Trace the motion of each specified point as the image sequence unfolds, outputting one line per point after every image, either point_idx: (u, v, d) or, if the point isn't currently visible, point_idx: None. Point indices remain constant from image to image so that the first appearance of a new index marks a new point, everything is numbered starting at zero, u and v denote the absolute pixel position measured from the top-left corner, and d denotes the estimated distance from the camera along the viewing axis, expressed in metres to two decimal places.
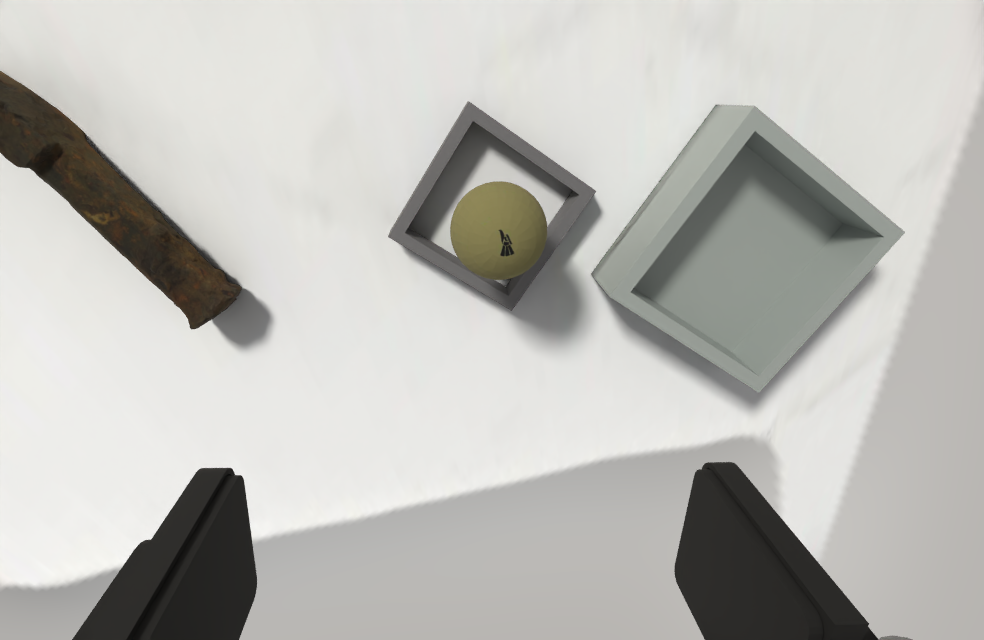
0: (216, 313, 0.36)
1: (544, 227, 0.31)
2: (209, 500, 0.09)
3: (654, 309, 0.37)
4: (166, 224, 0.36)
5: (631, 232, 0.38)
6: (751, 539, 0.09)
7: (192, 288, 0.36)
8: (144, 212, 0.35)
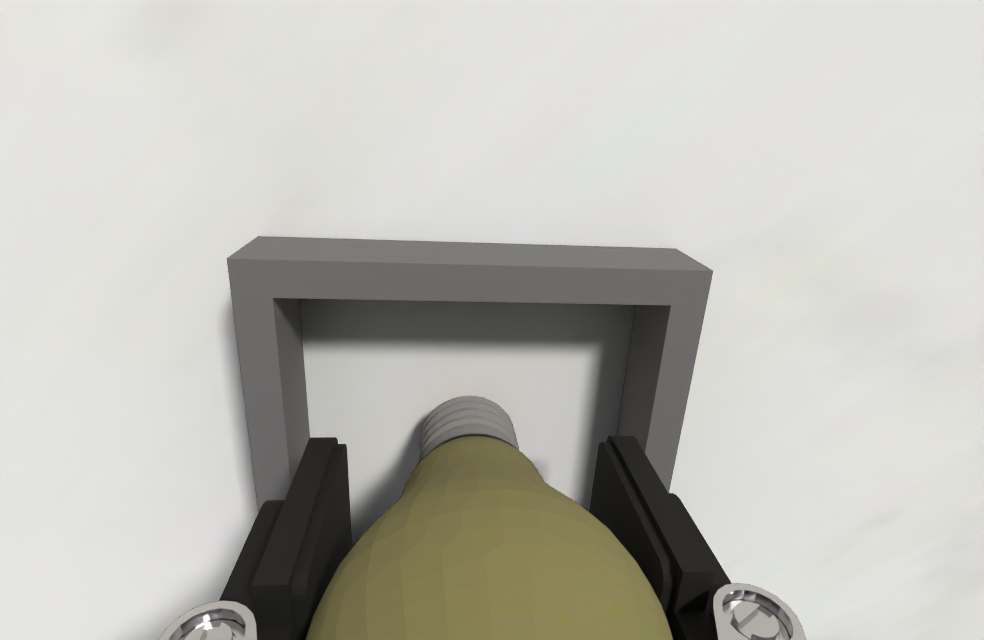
0: None
1: None
2: (326, 463, 0.10)
3: None
4: None
5: None
6: (631, 501, 0.10)
7: None
8: None
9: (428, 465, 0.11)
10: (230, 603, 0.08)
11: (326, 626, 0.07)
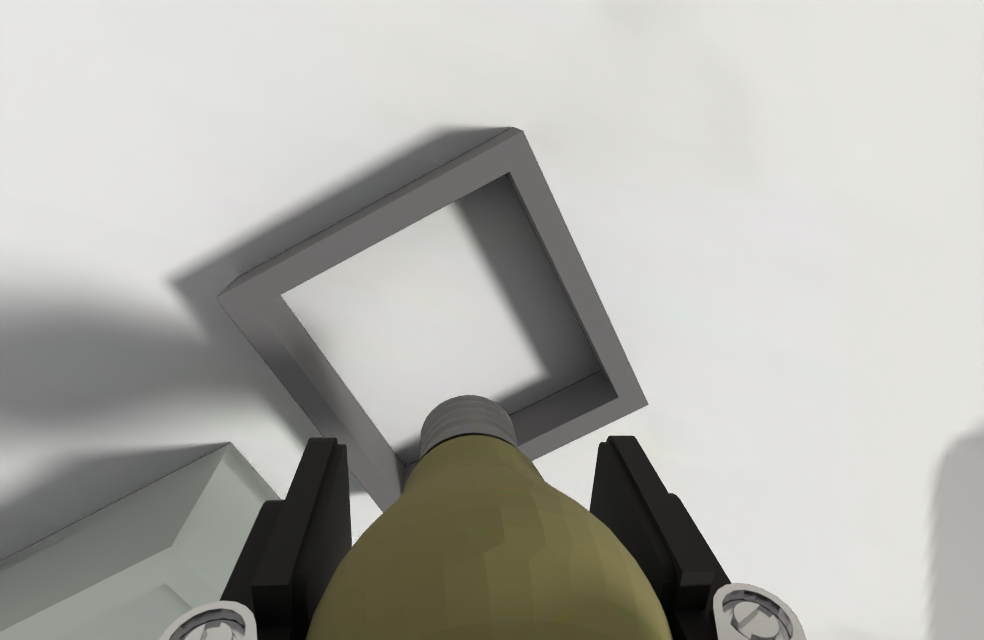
0: None
1: None
2: (326, 463, 0.10)
3: (101, 611, 0.16)
4: None
5: None
6: (631, 501, 0.10)
7: None
8: None
9: (428, 465, 0.11)
10: (230, 603, 0.08)
11: (326, 624, 0.07)
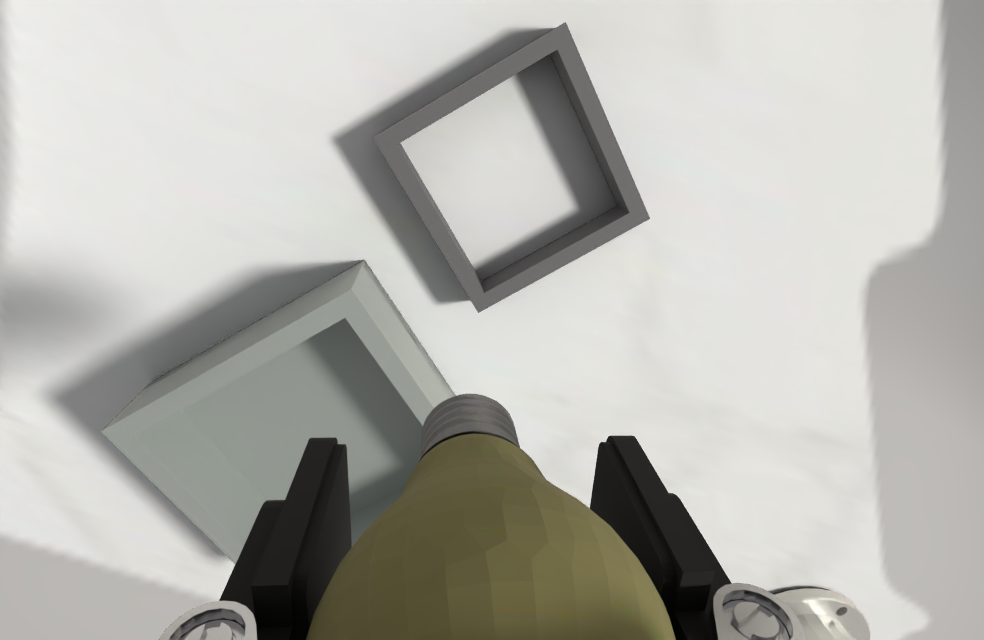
0: None
1: None
2: (326, 463, 0.10)
3: (304, 338, 0.25)
4: None
5: (404, 331, 0.29)
6: (631, 501, 0.10)
7: None
8: None
9: (429, 463, 0.11)
10: (230, 603, 0.08)
11: (328, 623, 0.07)
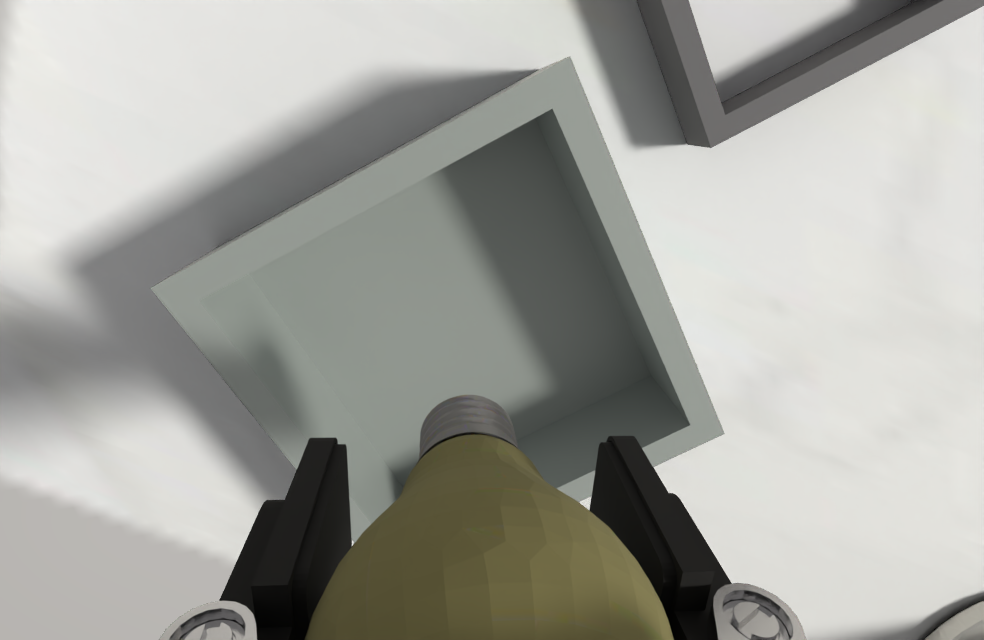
0: None
1: None
2: (326, 463, 0.10)
3: (483, 142, 0.16)
4: None
5: None
6: (631, 501, 0.10)
7: None
8: None
9: (428, 464, 0.11)
10: (230, 603, 0.08)
11: (326, 625, 0.07)
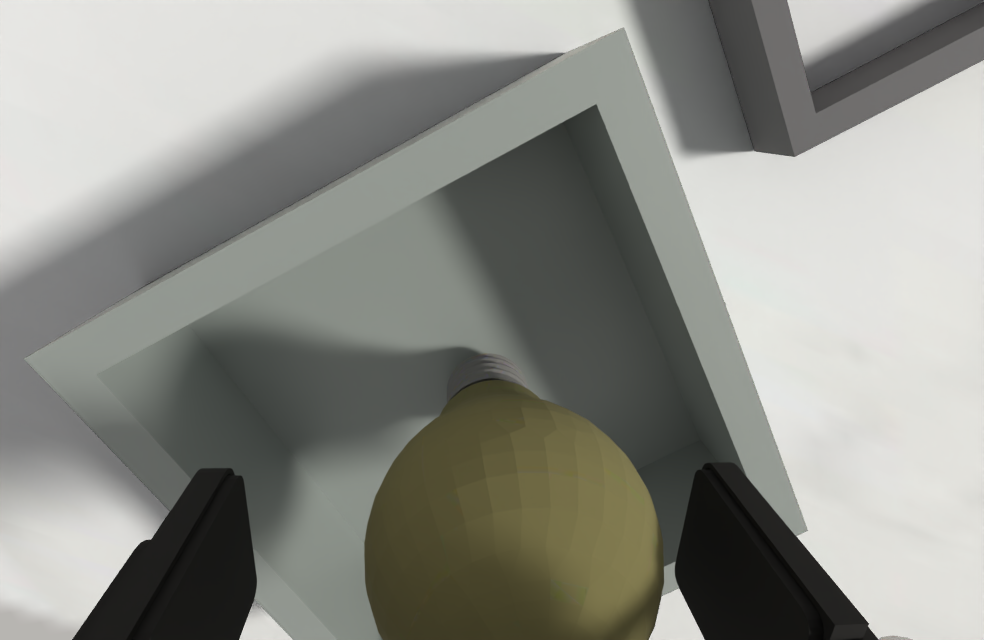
0: None
1: None
2: (209, 500, 0.09)
3: (496, 153, 0.11)
4: None
5: None
6: (751, 539, 0.09)
7: None
8: None
9: (457, 399, 0.13)
10: None
11: (391, 491, 0.09)
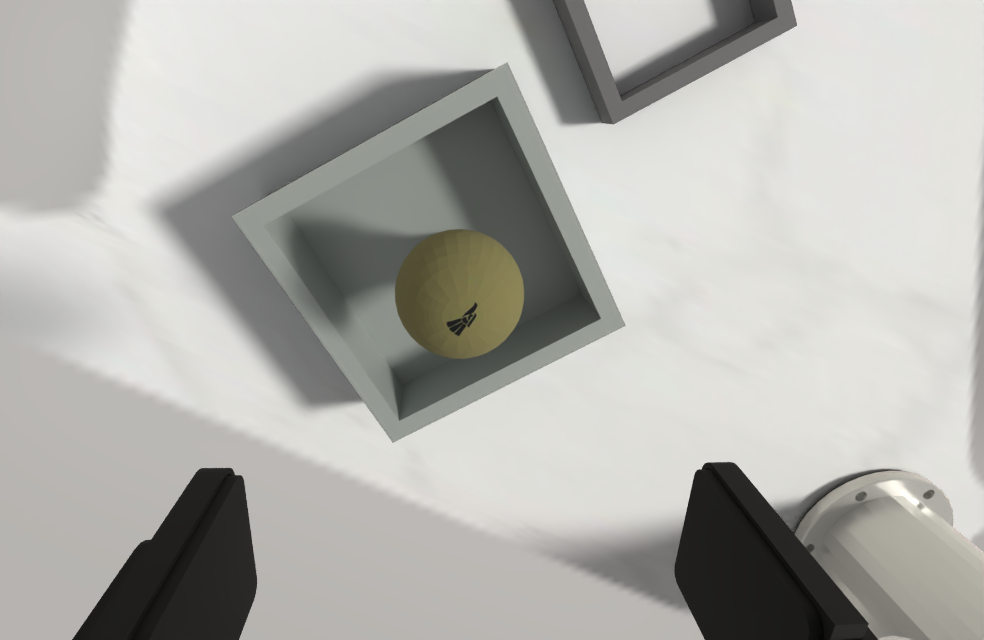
0: None
1: (500, 343, 0.24)
2: (209, 500, 0.09)
3: (452, 118, 0.24)
4: None
5: None
6: (751, 539, 0.09)
7: None
8: None
9: None
10: None
11: (407, 260, 0.23)
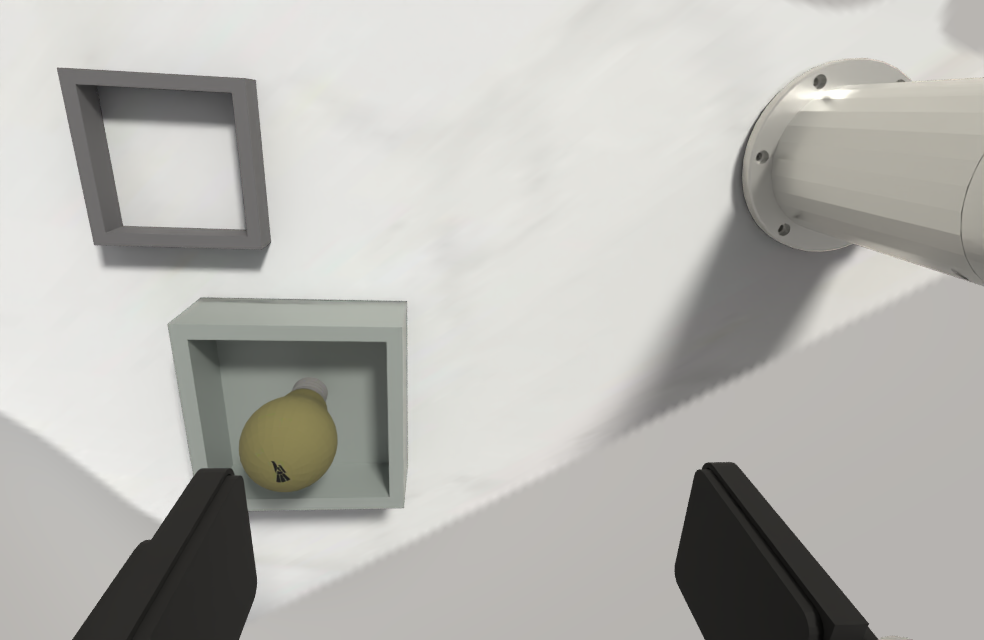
0: None
1: (326, 446, 0.32)
2: (209, 500, 0.09)
3: (191, 371, 0.34)
4: None
5: (256, 305, 0.37)
6: (751, 539, 0.09)
7: None
8: None
9: None
10: None
11: None
